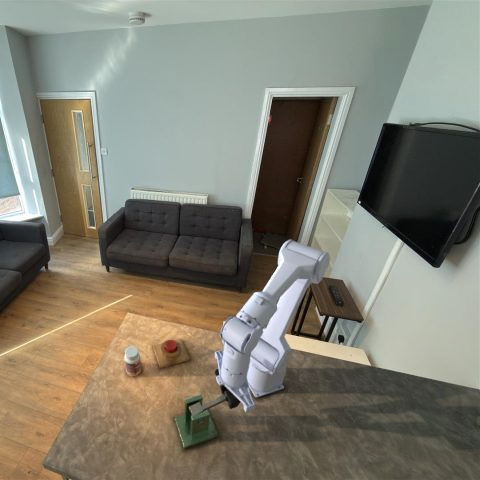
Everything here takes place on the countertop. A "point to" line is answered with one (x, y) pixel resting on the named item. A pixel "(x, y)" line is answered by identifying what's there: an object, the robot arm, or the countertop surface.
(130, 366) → the pill bottle
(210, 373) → the countertop surface
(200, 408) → the lever
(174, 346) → the button
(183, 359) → the button block
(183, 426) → the bracket
